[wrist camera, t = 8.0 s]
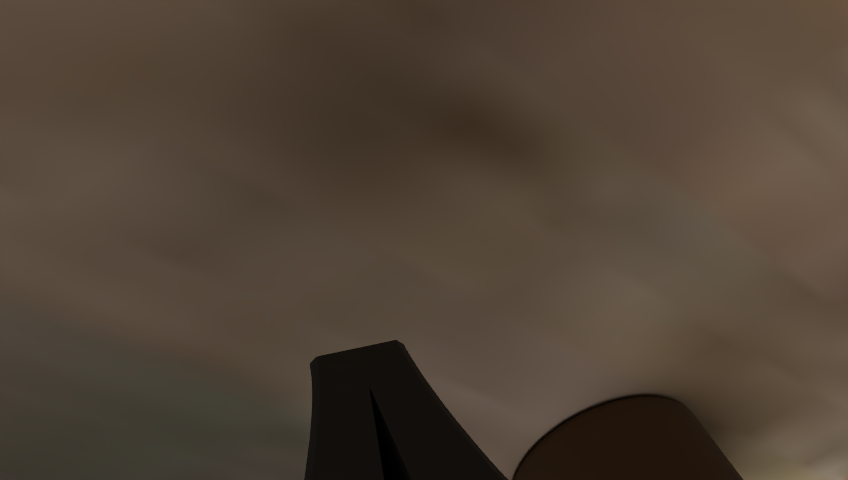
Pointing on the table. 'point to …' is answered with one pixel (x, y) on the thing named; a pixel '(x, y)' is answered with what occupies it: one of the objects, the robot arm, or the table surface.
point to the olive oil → (629, 446)
